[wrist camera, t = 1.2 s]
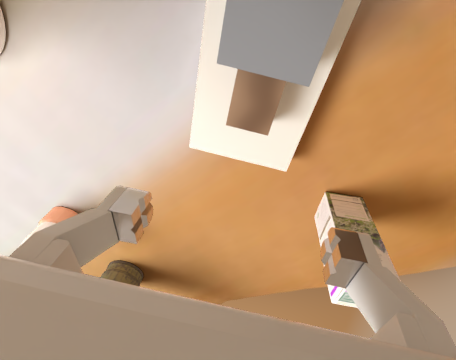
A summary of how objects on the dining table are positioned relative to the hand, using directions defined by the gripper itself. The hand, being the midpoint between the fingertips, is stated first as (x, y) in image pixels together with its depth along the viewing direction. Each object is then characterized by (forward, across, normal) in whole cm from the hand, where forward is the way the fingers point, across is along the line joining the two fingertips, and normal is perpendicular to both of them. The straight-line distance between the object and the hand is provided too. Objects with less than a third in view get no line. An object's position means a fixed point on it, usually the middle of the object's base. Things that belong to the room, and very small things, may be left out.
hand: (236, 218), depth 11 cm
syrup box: (+23, -14, +16) cm, 32 cm away
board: (+22, 0, -3) cm, 22 cm away
